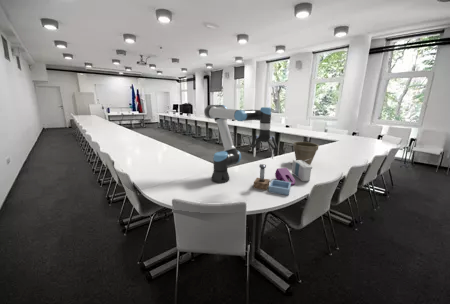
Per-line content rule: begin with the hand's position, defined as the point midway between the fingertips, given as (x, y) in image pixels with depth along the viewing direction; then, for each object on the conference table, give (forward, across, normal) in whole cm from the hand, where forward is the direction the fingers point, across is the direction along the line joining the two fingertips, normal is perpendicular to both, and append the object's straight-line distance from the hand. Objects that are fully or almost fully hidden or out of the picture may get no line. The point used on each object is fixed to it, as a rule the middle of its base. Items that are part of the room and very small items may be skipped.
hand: (263, 157), depth 148 cm
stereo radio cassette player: (+24, +27, +34) cm, 49 cm away
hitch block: (+24, 0, 0) cm, 24 cm away
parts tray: (+24, +14, 0) cm, 27 cm away
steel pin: (+24, 0, 0) cm, 24 cm away
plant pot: (+24, +28, +80) cm, 88 cm away
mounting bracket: (+24, +16, +19) cm, 35 cm away
